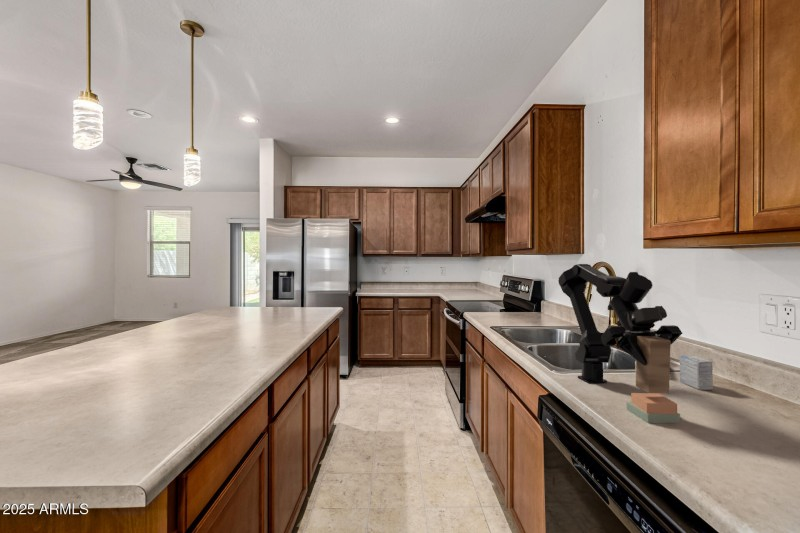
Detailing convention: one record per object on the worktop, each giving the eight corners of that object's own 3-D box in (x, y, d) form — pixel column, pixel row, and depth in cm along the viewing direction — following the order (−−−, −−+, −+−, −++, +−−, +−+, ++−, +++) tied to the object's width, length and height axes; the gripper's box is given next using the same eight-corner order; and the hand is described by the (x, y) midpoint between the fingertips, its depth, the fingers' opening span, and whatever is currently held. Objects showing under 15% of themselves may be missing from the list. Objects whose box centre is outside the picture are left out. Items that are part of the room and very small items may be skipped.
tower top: (631, 402, 97) (631, 392, 97) (659, 403, 96) (659, 393, 96) (646, 413, 90) (646, 403, 90) (677, 414, 89) (677, 403, 89)
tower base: (626, 411, 97) (626, 402, 97) (656, 410, 98) (656, 401, 98) (647, 424, 89) (647, 414, 89) (680, 424, 90) (680, 413, 90)
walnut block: (635, 385, 96) (637, 336, 96) (654, 386, 96) (656, 336, 96) (648, 392, 91) (650, 340, 91) (669, 393, 91) (670, 340, 91)
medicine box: (713, 390, 111) (713, 361, 111) (698, 390, 111) (698, 361, 111) (693, 381, 119) (693, 355, 119) (679, 381, 119) (679, 355, 119)
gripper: (607, 295, 97) (634, 347, 86) (677, 294, 97) (713, 346, 86) (590, 320, 105) (614, 371, 94) (655, 319, 105) (686, 370, 94)
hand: (656, 364), depth 92 cm, fingers closed on walnut block, 5 cm apart
